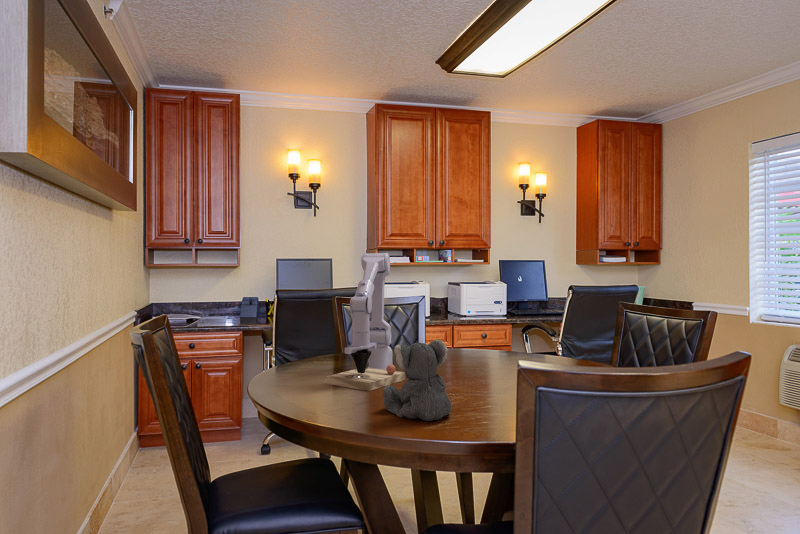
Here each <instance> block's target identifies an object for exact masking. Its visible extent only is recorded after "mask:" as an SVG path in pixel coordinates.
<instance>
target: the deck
mask: <svg viewBox="0 0 800 534" xmlns="http://www.w3.org/2000/svg"><path fill="white" fill-rule="evenodd" d="M355 375H359V376H361V377H362V378H353V377H354V376H355ZM405 380H406V375H405V372H404V371H399V370H398V371H397V370H395V372H394V373H393V374H389V373H387V371H386V370H385V369H377V368H370V367H368V368H366V369H365V373H358V372H357V368H354V369H350V370H345V371H343V372H339V373H335V374H331V375H328V376H326V385H332V386H338V387H343V388H349V389H356V390H363V391H366V390H367V392H370V391H373V390H376V389H377V390H378V389H380V388H383V387H384V388H385V386H388V385H389V386H391V385H393V384H396V383H399V382H402V381H405Z"/></svg>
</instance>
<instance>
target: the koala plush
mask: <svg viewBox="0 0 800 534" xmlns="http://www.w3.org/2000/svg"><path fill="white" fill-rule="evenodd" d="M393 350H394V354H395V362H396V364H397V365H398V366H399V368H400V369H401V370H403V372H405V378H407V380H406V381H405V382H404V383H403V385H401V387H400V390H399V389H398V388H397V387H396V386H394V385H387V386H384V388H383V389H382V399H383V405H384V408H385V410H386V411H388V412H389V413H391V414H394V415H396V416H397V417H399V418H407V419H409V420H414V419H420V420H422V421H426V422H431V421H439V420H441V419H442V418H443V417H446V416H448V415H449V414H450V413H451V411H452V402H451V400H450V397H449V395H448V393H447V392H446V384H445V381H444V378H443V377H442V376H441V375H440V374H438V373H437V372H438V368H439V367H441V366H442V365H443V363H445V362H446V360H447V359H448V356H449V355H448V352H450V350H449V349H448V347H447V344H445V342H444V341H443V340H441V339H439V338H437V339H434V340H432V341H430V343H428V344H426V343H425V342H414V343H412V344H410V345H408V346H407V345H406V344H403V343H402V344H396V345H395V346H394V349H393Z"/></svg>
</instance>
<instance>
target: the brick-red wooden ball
mask: <svg viewBox="0 0 800 534" xmlns="http://www.w3.org/2000/svg"><path fill="white" fill-rule="evenodd" d="M386 371H387V373H389V374H393V373H394V372H395V371H397V370H396V366H395V365H394V364H393V363H392V364H390V365H388V366H387V368H386Z"/></svg>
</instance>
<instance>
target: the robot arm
mask: <svg viewBox="0 0 800 534" xmlns="http://www.w3.org/2000/svg"><path fill="white" fill-rule="evenodd" d="M390 257H391V256H390V254H389V253H388V252H383V253H381V252H380V253H379V252H378V253H377V252H376V253H375V252H374V253H370V252H369V253H366V252H364V253H363V254H362V255H361V260H360V261H361V268H362V269H363V275H362V279H361V280H359V282H358V283H357V286H356V291H355V295H354V296H353V297H351V298H350V301H349V311H350V318H351V319H352V320H351V321H352V324H351V325H352V330H351V331H352V332H351V333H352V335H351V336H352V338H351V339H352V343H351V344H350V345H349V346H346V347H344V354H345V355H346V354H347V355H350V356H351V357H352V358H353V361H354V364H355V367H356V368H355V369H357V372H358V373H365V369H366V365H367V362H369V367H370V368H377V369H385V370H386V368H387V366H388V365H390V364H392V365H393V350H392V347H390V345H391V343H392V336H393V335H392V327H391V325H390V323H389V322H387V321H386V320H384V319H385V316H384V314H385V282H386V277H387V276H390V272H391V258H390ZM370 314H371V318H370ZM370 319H371V320H370Z"/></svg>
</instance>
